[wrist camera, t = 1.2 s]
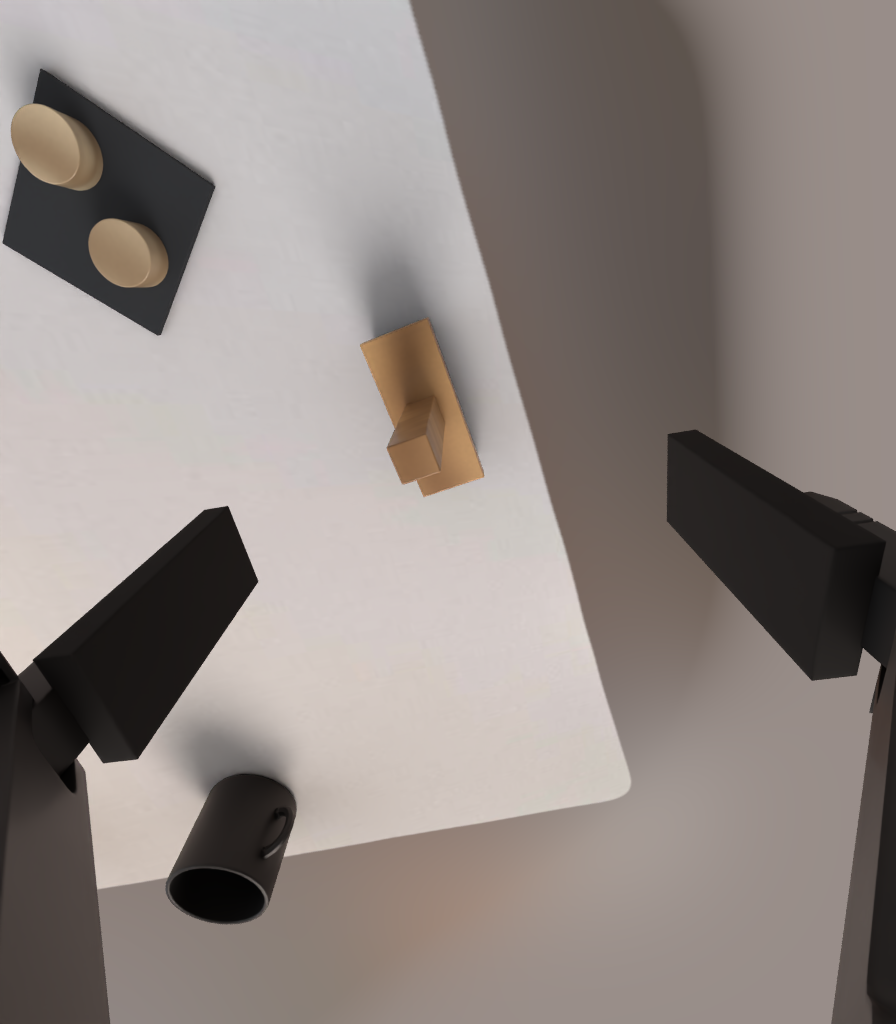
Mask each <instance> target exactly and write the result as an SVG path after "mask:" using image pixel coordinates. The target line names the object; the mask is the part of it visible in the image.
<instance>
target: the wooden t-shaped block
mask: <svg viewBox="0 0 896 1024" xmlns="http://www.w3.org/2000/svg"><path fill="white" fill-rule="evenodd" d="M360 347H361V349H362V352H363V354H364V356H365V359H366V361H367V364H368V366H369V368H370V371H371V373H372V375H373V378H374V380H375V383H376V385H377V387H378V390H379V392H380V394H381V397H382V399H383V402H384V404H385V406H386V409H387V411H388V413H389V416H390V418H391V421H392V423H393V425H394V428H395V430H394V432H393V435H392V437H391V439H390V441H389V444H388V446H387V451H388V453H389V455H390V458H391V460H392V462H393V465H394V467H395V469H396V471H397V474H398V476H399V478H400V481H401V483H402V484H407V483H410V482H413V481H416V480H417V482H418V485H419V487H420V490H421V492H422V494H423V496H424V497H426V496H429V495H432V494H435V493H438V492H441V491H444V490H447V489H450V488H453V487H456V486H459V485H462V484H465V483H468V482H471V481H474V480H477V479H480V478H483V477H484V471H483V468H482V465H481V462H480V460H479V457H478V454H477V451H476V448H475V446H474V443H473V440H472V437H471V434H470V431H469V429H468V426H467V423H466V420H465V417H464V415H463V412H462V409H461V406H460V403H459V401H458V398H457V395H456V392H455V389H454V387H453V384H452V381H451V378H450V375H449V373H448V370H447V367H446V364H445V361H444V359H443V356H442V353H441V350H440V347H439V345H438V342H437V339H436V336H435V333H434V331H433V328H432V325H431V322H430V319H429V318H428V317H427V318H424V319H422V320H419V321H417V322H414V323H412V324H409V325H407V326H404V327H402V328H399V329H397V330H394V331H392V332H389V333H387V334H384V335H382V336H379V337H376V338H374V339H371V340H369V341H366V342H364V343H362V344H361V345H360Z"/></svg>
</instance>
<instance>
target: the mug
mask: <svg viewBox="0 0 896 1024" xmlns="http://www.w3.org/2000/svg"><path fill="white" fill-rule="evenodd" d="M295 817H296V803H295V800H294V798H293V796H292V795H291V793H290V792H289V791H288V790H287V789H286V788H284V787H283V786H282V785H280V784H279V783H277V782H275V781H273V780H270V779H268V778H265V777H261V776H256V775H236V776H231V777H228V778H226V779H223V780H222V781H220V782H219V783H218V784H217V785H215V786H214V787H213V789H212V790H211V792H210V794H209V796H208V798H207V800H206V802H205V804H204V806H203V808H202V810H201V812H200V814H199V816H198V818H197V820H196V822H195V824H194V826H193V828H192V830H191V832H190V834H189V836H188V838H187V841H186V843H185V845H184V847H183V849H182V851H181V853H180V855H179V857H178V859H177V861H176V863H175V865H174V867H173V869H172V871H171V873H170V875H169V877H168V880H167V882H166V894H167V896H168V898H169V900H170V901H171V903H172V904H173V905H175V906H176V907H177V908H178V909H180V910H181V911H182V912H184V913H186V914H187V915H190V916H192V917H194V918H197V919H199V920H203V921H207V922H211V923H217V924H240V923H244V922H248V921H252V920H254V919H256V918H258V917H259V916H261V915H262V914H263V913H264V912H265V910H266V909H267V907H268V905H269V901H270V898H271V895H272V891H273V888H274V885H275V882H276V879H277V875H278V872H279V869H280V865H281V862H282V859H283V856H284V853H285V849H286V846H287V843H288V839H289V836H290V833H291V830H292V827H293V824H294V820H295Z"/></svg>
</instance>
